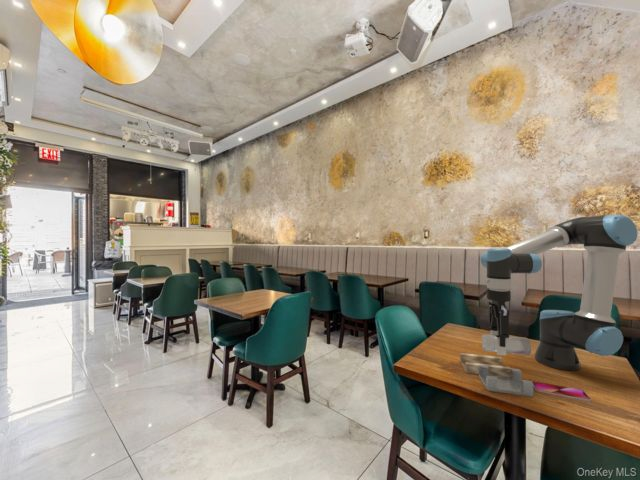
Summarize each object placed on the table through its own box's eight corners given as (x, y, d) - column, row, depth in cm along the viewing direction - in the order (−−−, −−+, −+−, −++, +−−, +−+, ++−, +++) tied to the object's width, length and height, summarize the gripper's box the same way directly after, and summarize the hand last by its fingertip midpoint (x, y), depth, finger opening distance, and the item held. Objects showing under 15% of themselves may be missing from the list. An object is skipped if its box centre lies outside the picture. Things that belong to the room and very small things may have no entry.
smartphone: (531, 380, 105) (582, 389, 98) (531, 383, 105) (582, 392, 98) (536, 390, 98) (592, 400, 92) (536, 392, 98) (592, 403, 92)
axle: (523, 352, 103) (522, 336, 103) (531, 357, 97) (530, 339, 98) (481, 348, 106) (481, 332, 107) (487, 352, 100) (486, 336, 101)
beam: (500, 366, 119) (500, 357, 119) (511, 379, 108) (511, 369, 108) (459, 361, 123) (459, 352, 123) (466, 373, 112) (466, 364, 112)
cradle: (519, 380, 106) (519, 369, 106) (533, 396, 95) (533, 383, 95) (478, 376, 109) (478, 364, 109) (487, 390, 99) (488, 378, 99)
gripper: (479, 284, 113) (479, 341, 113) (496, 293, 94) (495, 360, 94) (500, 285, 111) (499, 343, 111) (521, 294, 92) (521, 363, 92)
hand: (498, 351), depth 103 cm, fingers closed on axle, 6 cm apart
